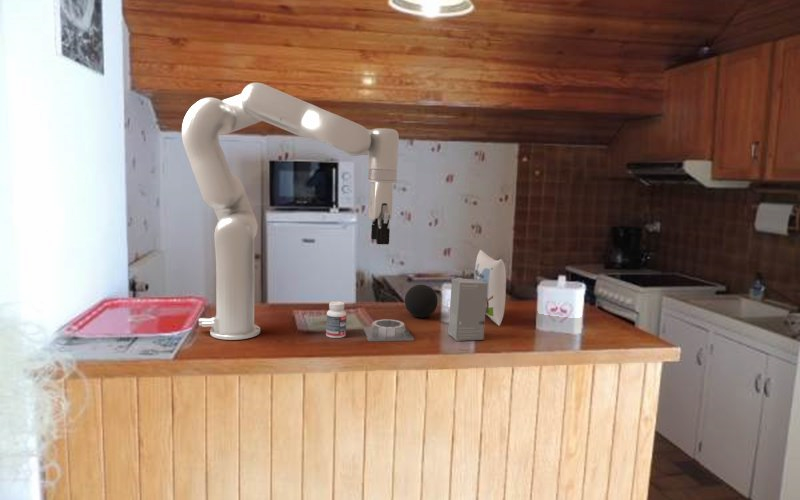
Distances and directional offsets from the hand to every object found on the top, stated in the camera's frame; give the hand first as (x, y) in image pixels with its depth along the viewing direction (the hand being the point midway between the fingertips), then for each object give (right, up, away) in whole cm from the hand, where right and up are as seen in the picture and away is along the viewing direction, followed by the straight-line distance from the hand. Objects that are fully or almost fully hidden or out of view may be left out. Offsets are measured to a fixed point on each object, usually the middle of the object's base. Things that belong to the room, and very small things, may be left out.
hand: (379, 241), depth 151 cm
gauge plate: (+2, -25, +2) cm, 25 cm away
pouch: (+32, -23, +25) cm, 47 cm away
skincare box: (+23, -26, +3) cm, 35 cm away
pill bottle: (-12, -25, 0) cm, 28 cm away
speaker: (+12, -23, +22) cm, 34 cm away
